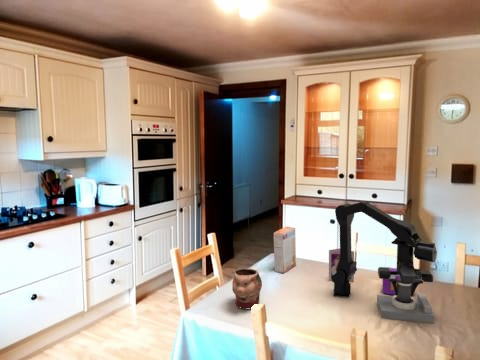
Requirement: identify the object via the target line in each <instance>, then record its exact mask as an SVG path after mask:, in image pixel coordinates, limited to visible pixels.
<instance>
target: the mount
mask: <svg viewBox="0 0 480 360" xmlns="http://www.w3.org/2000/svg"><path fill="white" fill-rule="evenodd" d="M376 304H377V308H378V311H379V315H380V318H381V319H386V320H394V321H395V320H397V321H405V320H407V321H408V322H416V323H417V322H418V323H425V324H427V323H428V324H435V314H434V312H433V307H432V304H431V303H430V302H429V300H428V298H427V296H426V295H425V294H424V293H417V297H413V296H412V297H411V303H401V302H398V301H397V295H382V294H376ZM407 321H406V322H407Z"/></svg>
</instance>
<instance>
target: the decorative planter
mask: <svg viewBox="0 0 480 360" xmlns="http://www.w3.org/2000/svg"><path fill="white" fill-rule="evenodd" d="M262 282H263V281H262V277H261V276H260V274H259V271H258V270H257V269H253V268H239V269H237V270H235V271H234V277H233V280H232V283H231V284H232V293H233V294H234V296H235V304H236V305H235V306H236V307H237V306H238V307H241V308H251V307H252V306H253V305H254V304H258V305H259V304H260V296H261V290H262V287H263V283H262ZM238 307H237V308H238ZM241 308H240V309H241Z"/></svg>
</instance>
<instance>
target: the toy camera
mask: <svg viewBox="0 0 480 360" xmlns="http://www.w3.org/2000/svg"><path fill="white" fill-rule="evenodd" d="M387 267H388V268H389V270H390V271H397V267H395V268H393V267H391V266H387ZM395 278H396V280H397V279H400V276H396V277H395ZM382 292H383V293H384V294H385V295H391V296H394V295H396V294H395V291H394V287H393V284H392V282H391V281H388V279H382Z"/></svg>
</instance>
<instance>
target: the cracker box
mask: <svg viewBox="0 0 480 360" xmlns="http://www.w3.org/2000/svg"><path fill="white" fill-rule="evenodd" d="M296 247H297V246H296V227H292V226H284V227H282V228H280V229H278V230H276V231H275V232H273V259H274V260H273V261H274V263H273V264H274V266H273V267H274V272H275V271H276V273H280V274H285V273H287V272H288V271H289V270H292V269H293V268H294V267H295V266H297V255H296V253H297V251H296V250H297V249H296Z"/></svg>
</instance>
